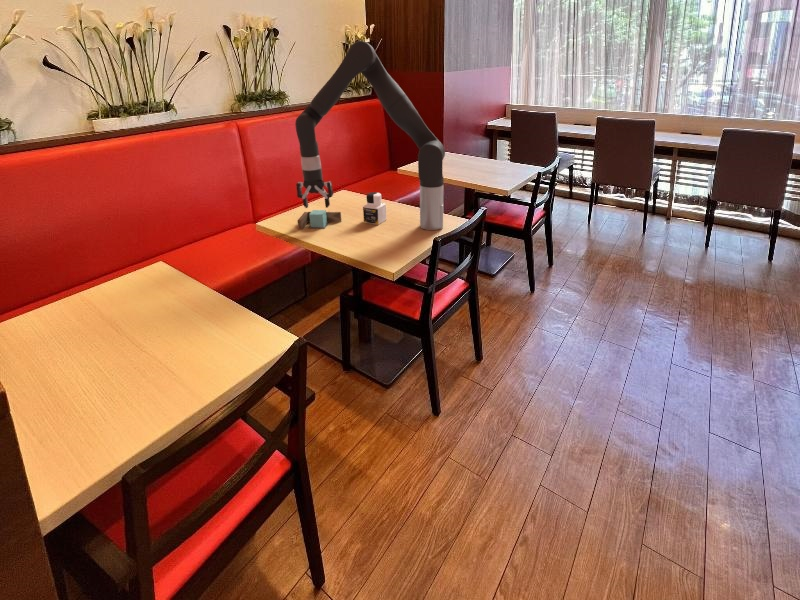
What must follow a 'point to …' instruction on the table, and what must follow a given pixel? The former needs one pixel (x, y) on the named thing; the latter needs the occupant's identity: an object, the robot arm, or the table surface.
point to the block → (318, 218)
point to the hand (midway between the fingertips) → (316, 207)
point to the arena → (330, 218)
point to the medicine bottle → (374, 209)
